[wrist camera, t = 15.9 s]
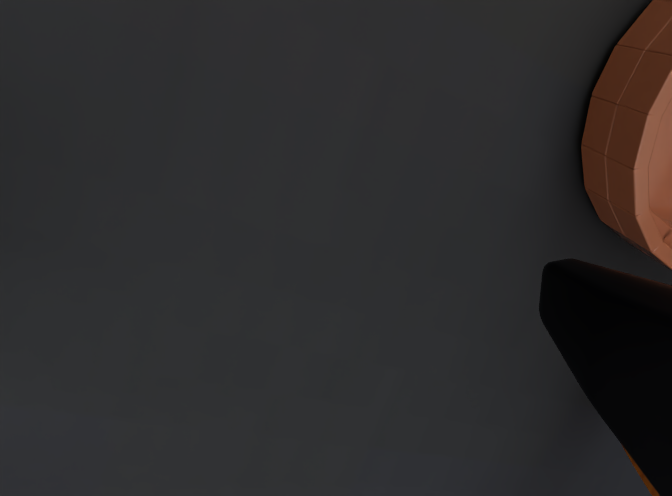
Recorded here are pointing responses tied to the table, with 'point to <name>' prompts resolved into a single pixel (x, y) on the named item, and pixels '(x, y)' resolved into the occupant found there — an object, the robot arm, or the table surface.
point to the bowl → (634, 136)
